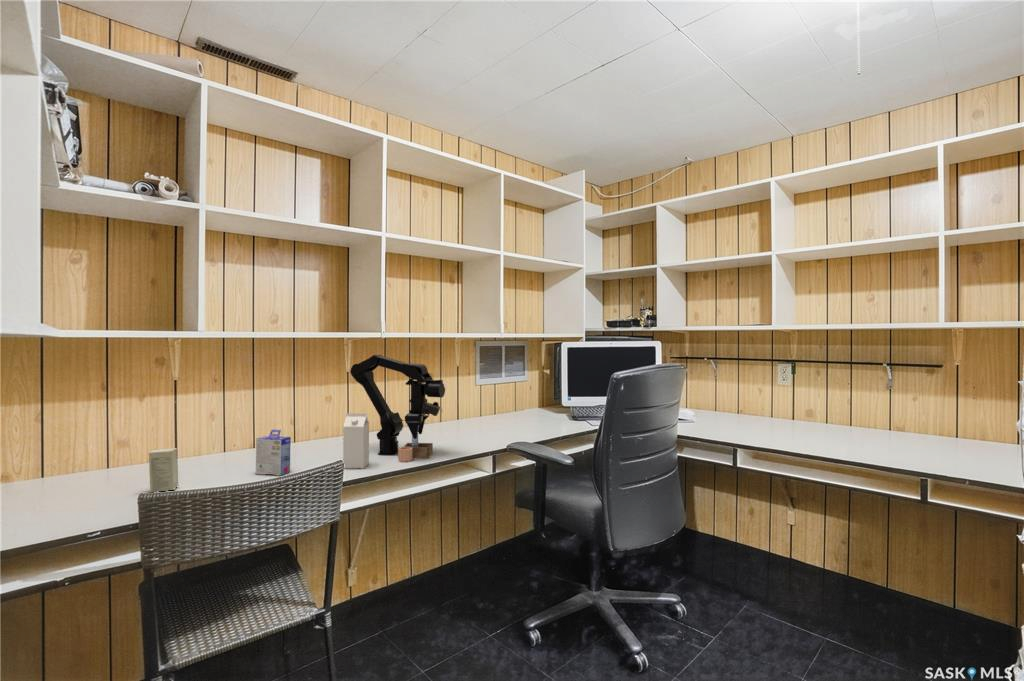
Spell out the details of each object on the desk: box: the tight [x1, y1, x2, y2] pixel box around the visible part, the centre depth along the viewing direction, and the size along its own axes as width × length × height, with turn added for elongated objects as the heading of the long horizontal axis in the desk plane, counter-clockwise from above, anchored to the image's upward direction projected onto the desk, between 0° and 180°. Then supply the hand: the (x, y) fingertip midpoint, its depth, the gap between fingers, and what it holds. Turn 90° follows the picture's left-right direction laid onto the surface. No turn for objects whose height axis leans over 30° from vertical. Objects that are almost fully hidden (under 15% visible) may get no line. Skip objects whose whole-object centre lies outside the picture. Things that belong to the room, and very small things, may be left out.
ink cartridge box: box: [255, 429, 291, 476], centre depth 170 cm, size 10×6×14 cm, turn 80°
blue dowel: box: [411, 434, 419, 447], centre depth 195 cm, size 4×2×8 cm
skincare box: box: [148, 447, 179, 493], centre depth 151 cm, size 6×4×12 cm
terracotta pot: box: [397, 446, 414, 463], centre depth 187 cm, size 5×5×5 cm
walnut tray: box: [403, 442, 433, 459], centre depth 195 cm, size 10×8×4 cm
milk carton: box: [342, 412, 370, 469], centre depth 179 cm, size 7×7×19 cm
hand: (417, 436), depth 195 cm, fingers open, 9 cm apart
